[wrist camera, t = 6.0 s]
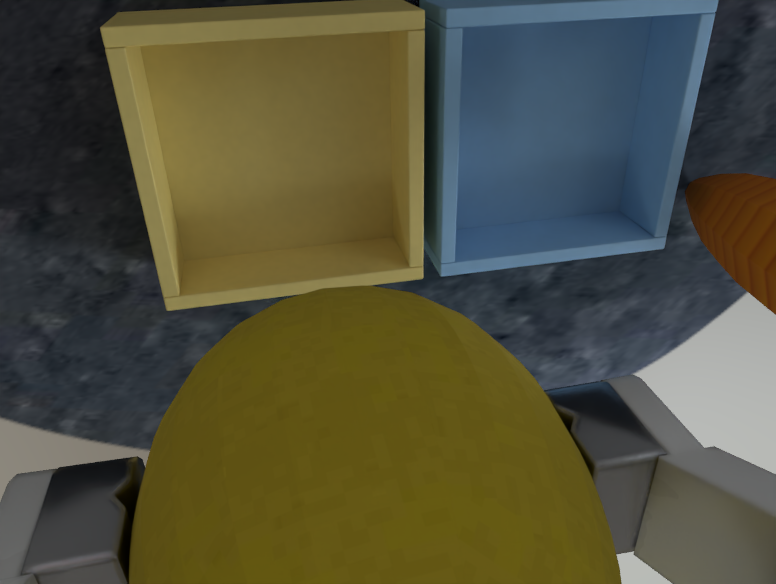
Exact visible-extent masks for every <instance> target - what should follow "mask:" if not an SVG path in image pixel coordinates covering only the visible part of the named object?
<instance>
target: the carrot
mask: <svg viewBox="0 0 776 584" xmlns="http://www.w3.org/2000/svg"><path fill="white" fill-rule="evenodd" d="M685 195H686V201H687V205H688V208H689V212H690V216H691V219H692V222H693V224H694V226H695V228H696V230H697V233H698V235H699V237H700V239H701V241H702V242H703V243H704V245H705V246H706V247H707V249H708V250H709V251H710V252H711V254H712V255H713V256H714V257H715V259H716V260H717V261H718V262H719V263H720V264H721V266H722V267H723V268H724V269H725V270H726V271H727V272H728V273H729V275H730V276H731V277H732V278H733V279H734V280H735V281H736V282H737V283H738V284H739V285H740V286H742V287H743V288H744V289H745V290H746V291H748V292H749V293H750V294H751V295H752V296H754V297H755V298H756V299H757V300H759V301H760V302H761V303H762V304H763V305H764V306H766V307H767V308H768V309H769V310H771V311H772V312H773V313H774V314H776V179H773V178H767V177H762V176H757V175H751V174H746V173H744V174H719V175H713V176H708V177H702V178H699V179H696V180H694V181H692V182H690V184H689V185H688V187H687V189H686V190H685Z"/></svg>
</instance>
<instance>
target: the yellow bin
mask: <svg viewBox="0 0 776 584" xmlns="http://www.w3.org/2000/svg"><path fill="white" fill-rule="evenodd" d="M423 29H425V10H423V9H421V8H419V7H417V6H415V5H412V4H410V3H408V2H406V1H404V0H354V1H334V2H314V3H293V4H273V5H253V6H233V7H212V8H192V9H172V10H152V11H131V12H118V13H117V14H116V15H115V16H113V17H112V18H111V19H110V20H109V21H107V22H106V23H105V24H104V25H103V26H102V27H100V30H101V35H102V39H103V43H104V46H105V47H106V49H105V52H106V56H107V60H108V64H109V69H110V73H111V77H112V81H113V86H114V90H115V94H116V98H117V103H118V107H119V111H120V115H121V120H122V124H123V128H124V132H125V137H126V141H127V145H128V149H129V154H130V158H131V162H132V166H133V171H134V175H135V179H136V183H137V188H138V192H139V196H140V200H141V205H142V209H143V213H144V217H145V222H146V226H147V230H148V234H149V239H150V243H151V247H152V251H153V256H154V260H155V264H156V268H157V273H158V277H159V281H160V285H161V290H162V294H163V297H164V302H165V306H166V310H167V311H170V310H178V309H186V308H194V307H202V306H210V305H218V304H226V303H234V302H242V301H250V300H258V299H266V298H274V297H282V296H290V295H298V294H305V293H308V292H311V291H315V290H318V289H322V288H335V287H348V286H362V285H364V286H369V285H377V284H385V283H393V282H401V281H409V280H417V279H423V252H424V83H425V31H424V30H423Z"/></svg>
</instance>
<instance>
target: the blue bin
mask: <svg viewBox="0 0 776 584" xmlns="http://www.w3.org/2000/svg"><path fill="white" fill-rule="evenodd" d="M717 5H718V0H419V8H421V9H423V10H425V29H423V30H424V31H425V83H424V249H425V250H426V252H427V254H428V256H429V257H430V259H431V261H432V262H433V264H434V266H435V268H436V269H437V271H438V273H439V274H440V276H450V275H458V274H466V273H474V272H482V271H490V270H498V269H506V268H514V267H522V266H530V265H538V264H546V263H554V262H562V261H570V260H578V259H586V258H594V257H602V256H610V255H618V254H625V253H633V252H641V251H649V250H657V249H664V247H665V242H666V235H667V232H668V228H669V223H670V218H671V214H672V209H673V205H674V200H675V196H676V191H677V186H678V182H679V177H680V173H681V168H682V164H683V159H684V155H685V150H686V145H687V141H688V136H689V132H690V127H691V123H692V118H693V114H694V109H695V104H696V100H697V95H698V91H699V86H700V82H701V77H702V73H703V68H704V63H705V59H706V54H707V50H708V45H709V41H710V36H711V31H712V27H713V22H714V18H715V13H714V12H716V10H717Z"/></svg>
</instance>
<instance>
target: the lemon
mask: <svg viewBox="0 0 776 584" xmlns="http://www.w3.org/2000/svg"><path fill="white" fill-rule="evenodd" d="M129 584H621V577H620V569H619V564H618V560H617V556H616V551H615V547H614V543H613V539H612V534H611V531H610V528H609V525H608V522H607V518H606V515H605V512H604V509H603V505H602V503H601V500H600V497H599V495H598V492H597V489H596V487H595V484H594V482H593V479H592V476H591V474H590V472H589V470H588V468H587V466H586V464H585V461H584V459H583V457H582V455H581V453H580V451H579V449H578V448H577V446H576V444H575V442H574V441H573V439H572V437H571V435H570V434H569V432H568V430H567V428H566V427H565V425H564V423H563V422H562V420H561V418H560V417H559V415H558V413H557V412H556V410H555V408H554V406H553V405H552V403H551V401H550V400H549V398H548V396H547V395H546V394H545V392H544V391H543V389H542V388H541V387H540V385H539V384H538V382H537V381H536V380H535V378H534V377H533V376H532V375H531V374H530V373H529V371H528V370H527V369H526V368H525V367H524V366H523V365H522V364H521V362H520V361H519V360H517V359H516V358H515V357H514V356H513V355H512V354H511V353H510V352H509V351H507V350H506V349H505V348H504V347H503V346H502V345H500V344H499V343H498V342H497V341H496V340H494V339H493V338H492V337H491V336H490V335H488V334H487V333H486V332H485V331H484V330H482V329H481V328H480V327H479V326H478V325H476V324H475V323H474V322H472V321H471V320H469V319H468V318H466V317H465V316H463V315H462V314H460V313H458V312H456V311H453V310H451V309H449V308H446V307H444V306H442V305H440V304H437V303H435V302H433V301H430V300H428V299H426V298H424V297H421V296H419V295H416V294H414V293H412V292H406V291H399V290H393V289H387V288H380V287H374V286H364V285H362V286H348V287H335V288H322V289H318V290H315V291H311V292H308V293H305V294H301V295H298V296H294V297H291V298H287V299H284V300H281V301H279V302H277V303H276V304H274V305H272V306H270V307H268V308H267V309H265V310H263V311H261V312H259V313H258V314H256V315H254V316H252V317H250V318H249V319H247V320H245V321H243V322H241V323H239V324H238V325H237V326H236V327H234V328H233V329H232V330H231V331H230V332H229V333H228V334H227V335H226V336H225V337H224V338H223V339H221V340H220V341H219V342H218V343H217V344H216V345H215V346H214V347H213V348H212V349H211V350H210V351H208V352H207V353H206V354H205V355H204V356H203V358H202V359H201V360H200V361H199V362H198V363H197V364H196V365H195V367H194V368H193V370H192V372H191V373H190V375H189V376H188V378H187V379H186V381H185V383H184V384H183V386H182V387H181V389H180V390H179V392H178V394H177V395H176V397H175V398H174V400H173V402H172V403H171V405H170V407H169V408H168V410H167V411H166V413H165V415H164V416H163V418H162V421H161V423H160V425H159V428H158V430H157V432H156V434H155V437H154V440H153V443H152V447H151V450H150V453H149V457H148V460H147V464H146V468H145V472H144V476H143V480H142V484H141V487H140V491H139V495H138V499H137V504H136V509H135V514H134V519H133V524H132V532H131V543H130V554H129Z"/></svg>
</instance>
